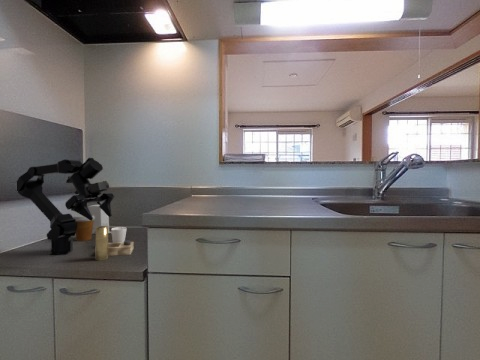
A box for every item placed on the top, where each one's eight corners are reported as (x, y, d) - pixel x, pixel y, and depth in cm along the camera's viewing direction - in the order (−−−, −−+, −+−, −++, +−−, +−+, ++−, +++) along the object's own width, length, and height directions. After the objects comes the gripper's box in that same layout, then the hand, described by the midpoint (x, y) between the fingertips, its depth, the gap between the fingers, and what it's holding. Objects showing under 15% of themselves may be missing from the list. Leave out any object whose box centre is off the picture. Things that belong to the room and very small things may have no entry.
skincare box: (109, 232, 148) (109, 204, 148) (100, 234, 141) (100, 206, 141) (96, 231, 150) (97, 204, 149) (87, 233, 143) (87, 205, 143)
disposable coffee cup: (67, 241, 126) (68, 216, 126) (82, 236, 136) (82, 213, 136) (85, 242, 125) (85, 217, 125) (99, 237, 134) (99, 214, 134)
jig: (96, 256, 104) (96, 245, 104) (102, 249, 113) (102, 239, 113) (130, 254, 107) (130, 243, 107) (133, 248, 116) (133, 238, 116)
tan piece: (93, 260, 99) (94, 227, 99) (96, 257, 103) (97, 225, 103) (106, 260, 100) (106, 227, 100) (109, 256, 104) (109, 225, 104)
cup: (129, 246, 120) (129, 228, 120) (106, 250, 113) (106, 231, 113) (123, 243, 125) (123, 226, 125) (101, 246, 118) (101, 229, 118)
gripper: (74, 173, 94) (95, 209, 92) (113, 174, 112) (131, 204, 110) (56, 191, 97) (75, 226, 94) (97, 189, 115) (114, 218, 112)
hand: (101, 217), depth 103 cm, fingers open, 9 cm apart
